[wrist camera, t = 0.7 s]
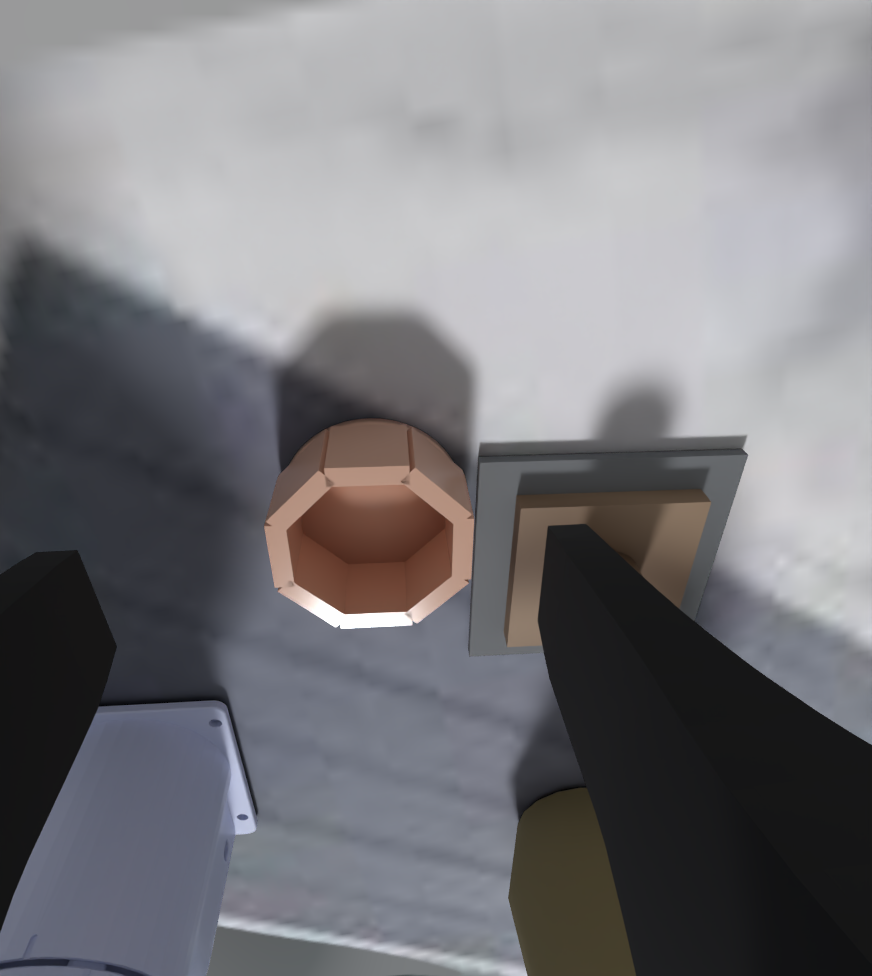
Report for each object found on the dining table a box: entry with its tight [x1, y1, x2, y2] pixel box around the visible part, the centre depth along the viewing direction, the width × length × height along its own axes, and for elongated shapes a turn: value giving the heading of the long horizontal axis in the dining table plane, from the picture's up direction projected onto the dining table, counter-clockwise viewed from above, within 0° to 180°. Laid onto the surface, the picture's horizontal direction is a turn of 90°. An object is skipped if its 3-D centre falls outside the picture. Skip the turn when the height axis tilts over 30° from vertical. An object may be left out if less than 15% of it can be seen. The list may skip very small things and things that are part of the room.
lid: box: [504, 489, 711, 647], centre depth 21 cm, size 6×6×5 cm
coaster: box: [468, 449, 748, 657], centre depth 23 cm, size 9×9×1 cm
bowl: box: [264, 418, 474, 629], centre depth 20 cm, size 6×6×3 cm
